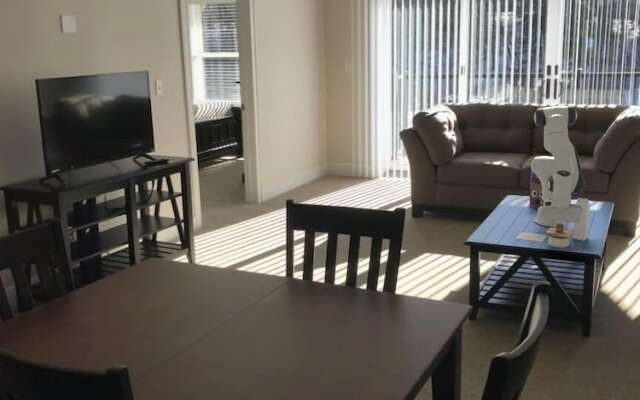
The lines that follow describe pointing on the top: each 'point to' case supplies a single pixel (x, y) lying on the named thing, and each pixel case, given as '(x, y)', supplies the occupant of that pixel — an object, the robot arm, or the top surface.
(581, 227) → the milk
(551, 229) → the lid
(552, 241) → the bowl
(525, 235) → the mat
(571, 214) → the robot arm
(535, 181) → the cereal box
